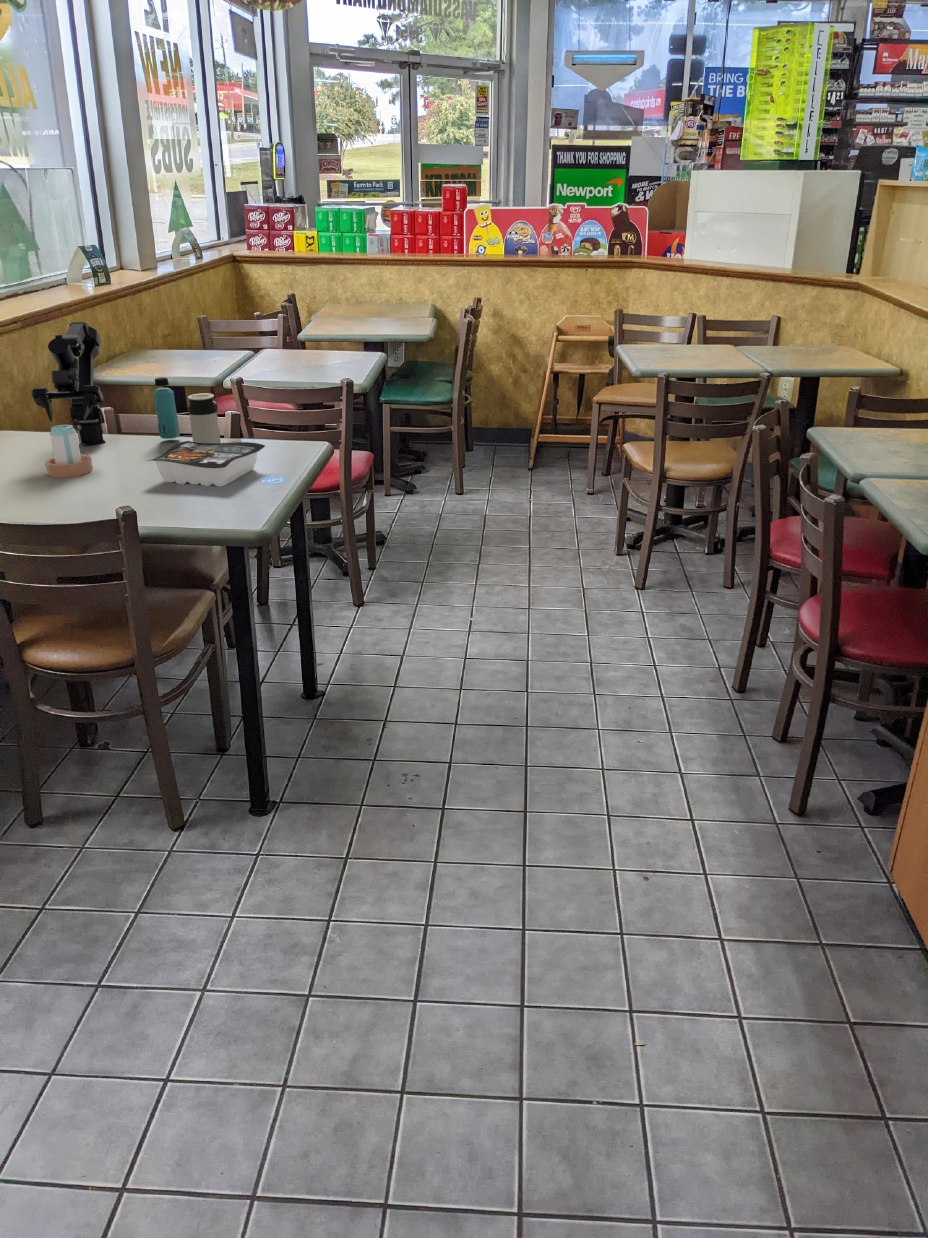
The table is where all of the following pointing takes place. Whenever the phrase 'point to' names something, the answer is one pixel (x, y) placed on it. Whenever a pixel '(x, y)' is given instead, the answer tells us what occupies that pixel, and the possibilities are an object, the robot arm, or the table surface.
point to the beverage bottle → (166, 410)
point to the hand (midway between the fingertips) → (67, 420)
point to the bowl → (69, 467)
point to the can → (65, 444)
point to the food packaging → (207, 462)
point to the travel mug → (203, 418)
